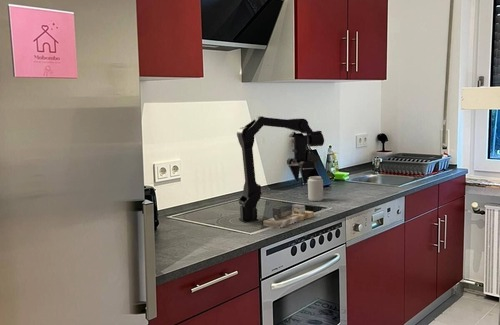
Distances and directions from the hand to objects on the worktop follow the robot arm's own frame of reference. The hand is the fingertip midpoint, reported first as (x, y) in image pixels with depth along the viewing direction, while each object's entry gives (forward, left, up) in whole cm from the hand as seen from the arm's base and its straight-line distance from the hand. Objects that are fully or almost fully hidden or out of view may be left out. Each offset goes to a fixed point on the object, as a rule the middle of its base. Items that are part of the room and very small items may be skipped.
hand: (301, 182), depth 216 cm
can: (+20, +22, -14) cm, 33 cm away
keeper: (-5, -6, -12) cm, 15 cm away
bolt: (-15, -11, -12) cm, 22 cm away
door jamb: (-11, -9, -14) cm, 20 cm away
